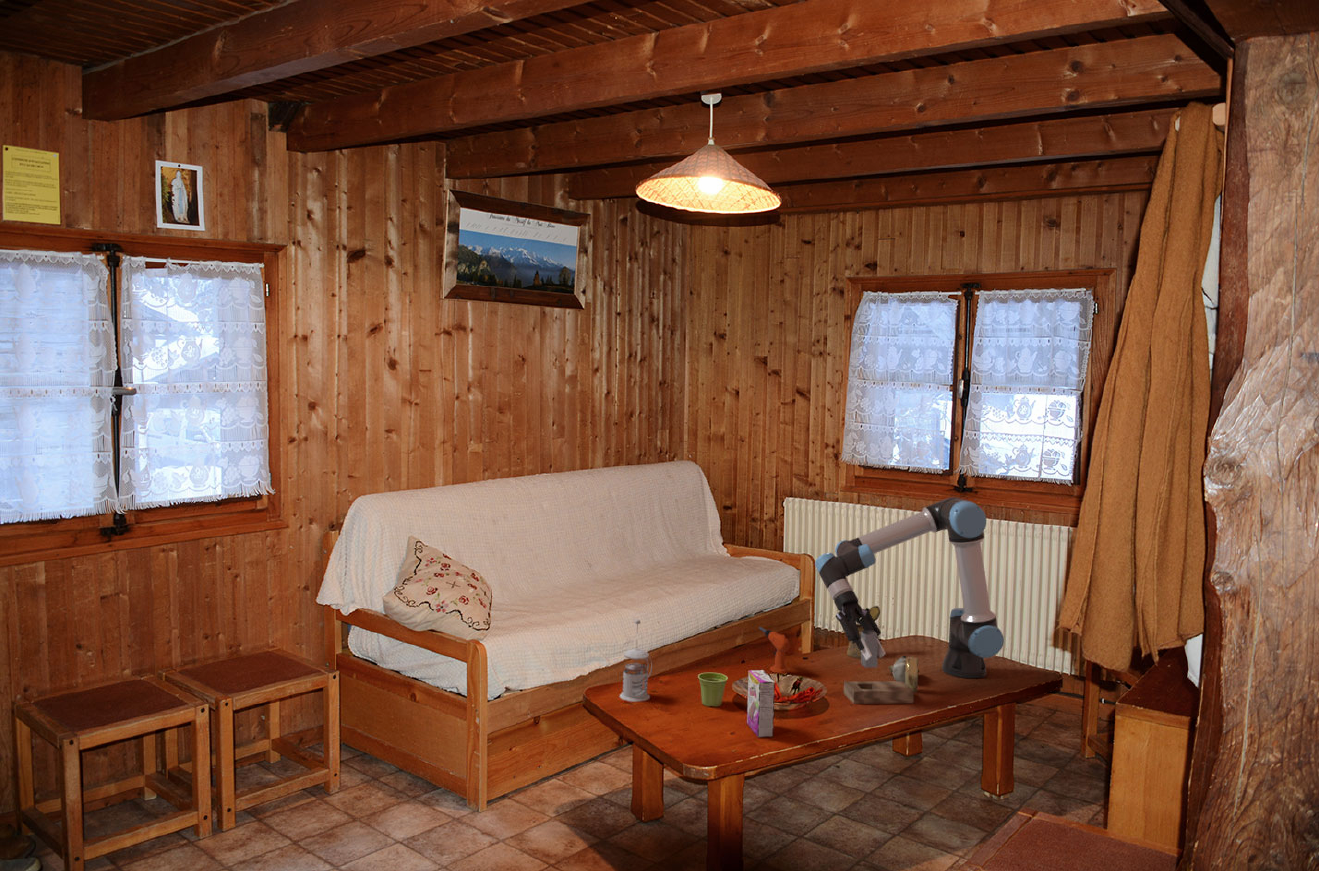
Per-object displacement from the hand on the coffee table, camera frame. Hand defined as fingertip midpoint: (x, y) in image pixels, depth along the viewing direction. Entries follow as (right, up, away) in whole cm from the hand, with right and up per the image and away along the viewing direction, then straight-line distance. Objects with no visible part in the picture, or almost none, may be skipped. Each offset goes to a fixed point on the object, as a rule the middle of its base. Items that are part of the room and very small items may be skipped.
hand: (875, 656), depth 310 cm
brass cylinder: (+15, -14, +13) cm, 25 cm away
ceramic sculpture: (+15, -14, +26) cm, 34 cm away
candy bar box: (-41, -15, -28) cm, 52 cm away
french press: (-77, -12, -1) cm, 78 cm away
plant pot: (-53, -14, -7) cm, 55 cm away
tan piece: (+7, -12, +55) cm, 56 cm away
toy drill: (-30, -12, +32) cm, 45 cm away
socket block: (+2, -15, +5) cm, 15 cm away
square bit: (-2, -4, +3) cm, 5 cm away
